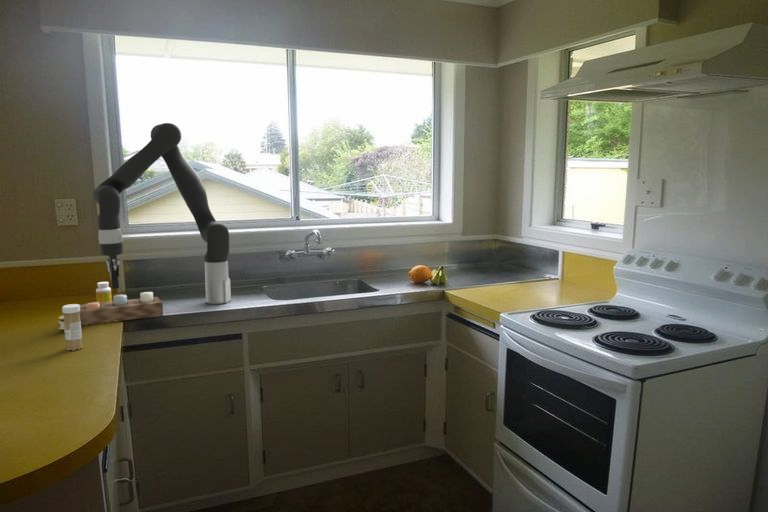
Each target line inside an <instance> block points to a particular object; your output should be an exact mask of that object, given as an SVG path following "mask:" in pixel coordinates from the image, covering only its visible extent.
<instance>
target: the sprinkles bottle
mask: <svg viewBox="0 0 768 512" xmlns="http://www.w3.org/2000/svg"><path fill="white" fill-rule="evenodd" d="M80 305H81V304H78V303H71V304H65V305H63V306H62V308H61V311H62V315H64V329H63V330H64V340H65V351H69V350H72V351H77V350H76V349H78V350H81V349H82V348H83V346H84V345H83V339H82V338H83V336H82V335H83V334H82V333H83V332H82V326H81V321H80ZM80 348H81V349H80Z"/></svg>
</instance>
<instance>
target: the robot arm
mask: <svg viewBox="0 0 768 512" xmlns="http://www.w3.org/2000/svg"><path fill="white" fill-rule="evenodd" d="M181 140H182V132H181V130H180V128H179V126H177V125H176V124H174V123H170V122H164V123H163V122H162V123H160V124H157V125H155V126H154V127H152V129H151V131H150V140H149V142H148V143H147V144H146V145H145V146H144V147H143V148H142V149H140V150H138V152H136V153H135V154H134V155H132V156H130V157H129V158H128V159H127V160H126V161H125V162H124V163H123V164H122V165H120V167H118V169H117V170H115V171H114V173H113V174H112V175H111V176H110V177H107V179H105V180H104V181H103V182H101V183H100V184H99V185H98V186H97V187H96V188H95V189H94V191H93V196H92V197H93V199H94V200H93V201H95V202H96V203H97V204H98V205H99V207H98V208H99V209H98V210H99V213H98V215H97V226H98V242H99V243H98V245H99V253H100V255H101V256H103V257H108V258H107V259H106V260H105V261H106V265H107V271H108V273H109V278H110V282H111V289H113V290H114V289H119V288H120V283H119V278H120V272H121V271H120V264H121V263H120V259H119V258H118V257H117V256H119V255H123V254H124V252H125V251H124V243H123V233H122V229H121V219H120V211H121V196H120V195H121V193H122V192H123V191H125V190H128V189H129V188H130V187H132V186H133V185H135V183H136V182H137V181H138V179H140V178H141V176H142V175H144V173H145V172H147V170H148V169H149V168H150V167H151V166H152V165H153V164H154V163H156V161H158V160H159V159H160V158H162V160H163V161H164V162H165V163H164V164H165V165H166V167H167V169H168V170H169V173H170V175H171V177H172V180H173V181H174V183H175V186H176V188H177V190H178V191H179V193H180V196H181V198H182V199H183V201H184V203H185V204H186V207H187V208H188V210H189V211H190V213H191V215H192V216H193V218H194V221H195V224H196V226H197V228H198V232H199V234H200V236H201V238H202V240H203V241H204V242H206V253H205V254H204V256H203V257H204V259H203V260H204V278H205V279H204V282H205V302H206V303H207V304H211V305H218V304H221V305H222V304H228V303H229V302H230V301H231V298H232V297H231V296H232V294H231V292H232V291H231V278H230V277H229V258H228V257H229V254H230V232H229V229H228V227H227V226H226V225H225V224H224V223H221V222H218V221H217V220H216V219H215V217H214V215H213V213H212V212H211V209H210V206H209V202H208V196H207V192H206V188H205V186H204V184H203V182H202V180H201V178H200V176H199V175H198V173H197V172H196V171H195V169H194V168H193V167H192V166H191V164H190V163H189V162H188V161H187V159H186V158H185V157H184V155H183V154H182V151H181V150H180V147H179V144H180V142H181Z"/></svg>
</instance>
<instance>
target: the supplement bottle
mask: <svg viewBox="0 0 768 512" xmlns="http://www.w3.org/2000/svg"><path fill="white" fill-rule="evenodd" d="M109 284H110V283H109V281H100V282H97V283H96V286H97V288H96V289H95V295H96V296H95V298H96V302H99V303H103V302H112V301H113V299H112V297H113V296H112V287H110V286H109Z"/></svg>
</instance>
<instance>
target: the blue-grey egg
mask: <svg viewBox="0 0 768 512" xmlns="http://www.w3.org/2000/svg"><path fill="white" fill-rule="evenodd" d="M112 297H113V301H114V306H119V305H127V300H128V296H127V294H116V295H113V296H112Z"/></svg>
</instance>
